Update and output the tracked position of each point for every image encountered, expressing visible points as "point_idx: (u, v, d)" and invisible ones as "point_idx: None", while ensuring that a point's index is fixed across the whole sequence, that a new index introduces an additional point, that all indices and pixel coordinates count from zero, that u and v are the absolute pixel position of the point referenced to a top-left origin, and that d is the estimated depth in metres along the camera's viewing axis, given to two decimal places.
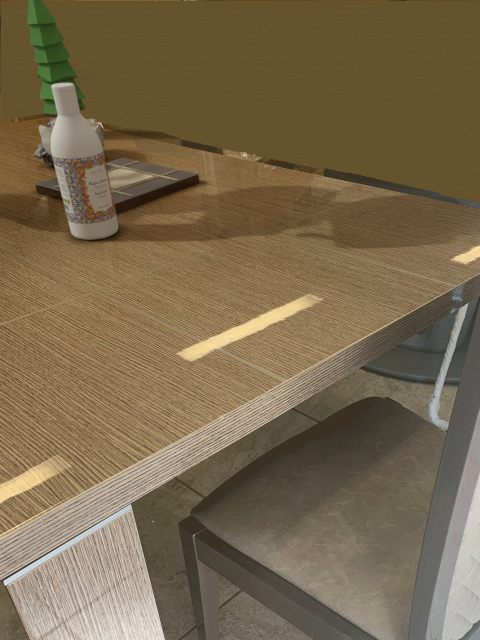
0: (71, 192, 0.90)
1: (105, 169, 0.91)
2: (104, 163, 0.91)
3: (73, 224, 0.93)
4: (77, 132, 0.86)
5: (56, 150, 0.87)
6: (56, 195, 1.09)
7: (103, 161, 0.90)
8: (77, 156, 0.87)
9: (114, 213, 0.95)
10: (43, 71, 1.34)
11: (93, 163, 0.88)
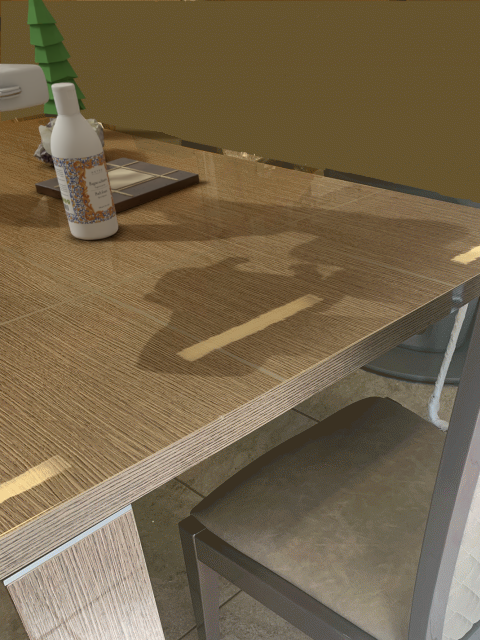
0: (71, 192, 0.90)
1: (105, 169, 0.91)
2: (104, 163, 0.91)
3: (73, 224, 0.93)
4: (78, 132, 0.86)
5: (56, 150, 0.87)
6: (56, 195, 1.09)
7: (103, 161, 0.90)
8: (77, 156, 0.87)
9: (114, 213, 0.95)
10: (43, 71, 1.34)
11: (93, 163, 0.88)
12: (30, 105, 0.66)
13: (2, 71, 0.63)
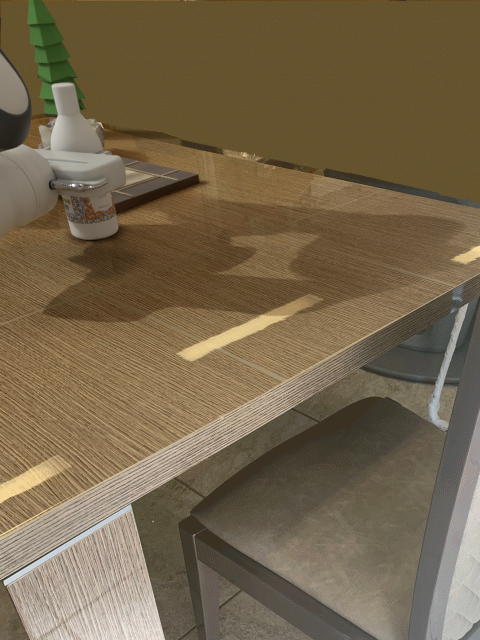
0: None
1: None
2: None
3: (73, 224, 0.93)
4: (78, 132, 0.86)
5: (56, 150, 0.87)
6: None
7: None
8: None
9: (114, 213, 0.95)
10: (43, 71, 1.34)
11: None
12: (113, 189, 0.83)
13: (94, 166, 0.80)
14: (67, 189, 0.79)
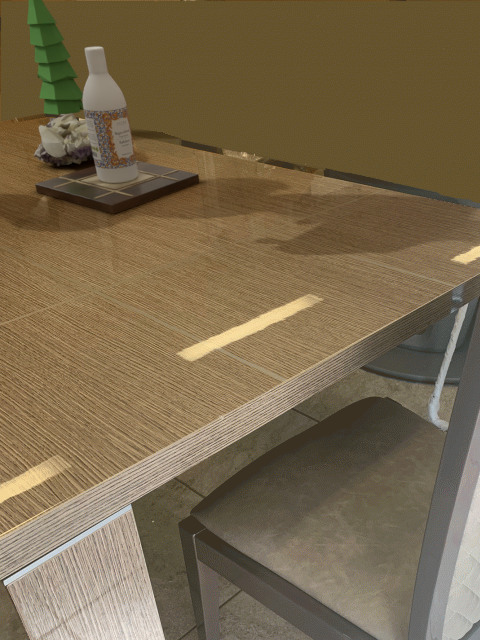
0: (100, 141, 1.06)
1: (128, 122, 1.07)
2: (127, 116, 1.07)
3: (100, 169, 1.09)
4: (106, 88, 1.02)
5: (87, 103, 1.03)
6: (56, 195, 1.09)
7: (126, 114, 1.06)
8: (105, 108, 1.03)
9: (135, 161, 1.11)
10: (43, 71, 1.34)
11: (118, 115, 1.05)
12: None
13: None
14: None
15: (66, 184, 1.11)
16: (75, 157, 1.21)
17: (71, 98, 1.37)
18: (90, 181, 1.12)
